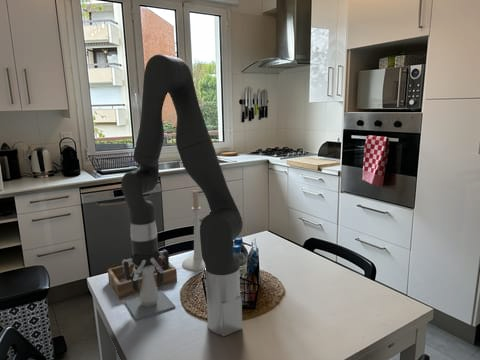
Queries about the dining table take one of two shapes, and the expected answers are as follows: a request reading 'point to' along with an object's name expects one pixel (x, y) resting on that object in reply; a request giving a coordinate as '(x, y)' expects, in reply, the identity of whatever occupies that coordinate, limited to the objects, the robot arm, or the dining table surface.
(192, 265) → the candlestick
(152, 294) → the salt shaker
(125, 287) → the frame
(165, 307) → the grey mat
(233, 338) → the dining table surface
